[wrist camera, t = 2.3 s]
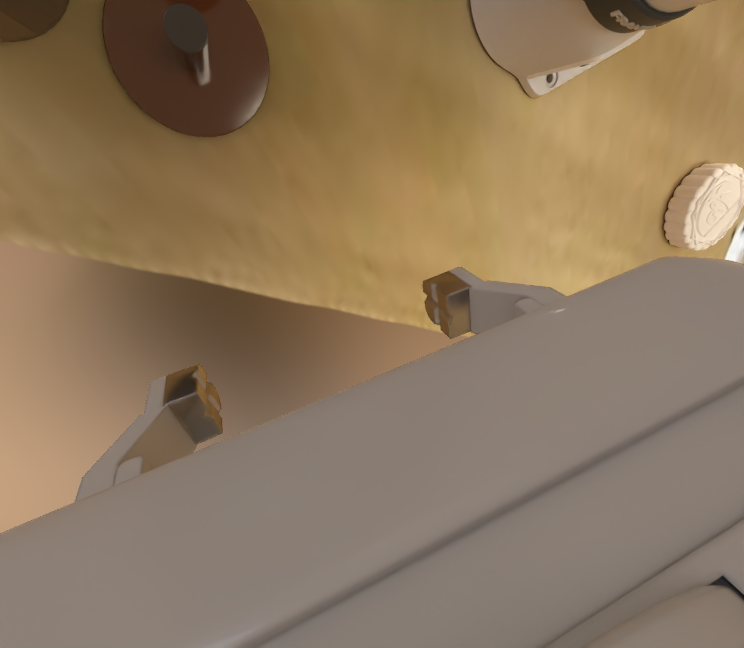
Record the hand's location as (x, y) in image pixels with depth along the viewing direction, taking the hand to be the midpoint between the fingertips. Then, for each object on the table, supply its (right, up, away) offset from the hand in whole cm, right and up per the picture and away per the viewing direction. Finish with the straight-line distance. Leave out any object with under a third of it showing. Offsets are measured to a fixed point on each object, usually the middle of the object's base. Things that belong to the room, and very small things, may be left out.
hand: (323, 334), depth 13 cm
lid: (-12, +21, +15) cm, 29 cm away
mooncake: (+49, +18, +43) cm, 68 cm away
